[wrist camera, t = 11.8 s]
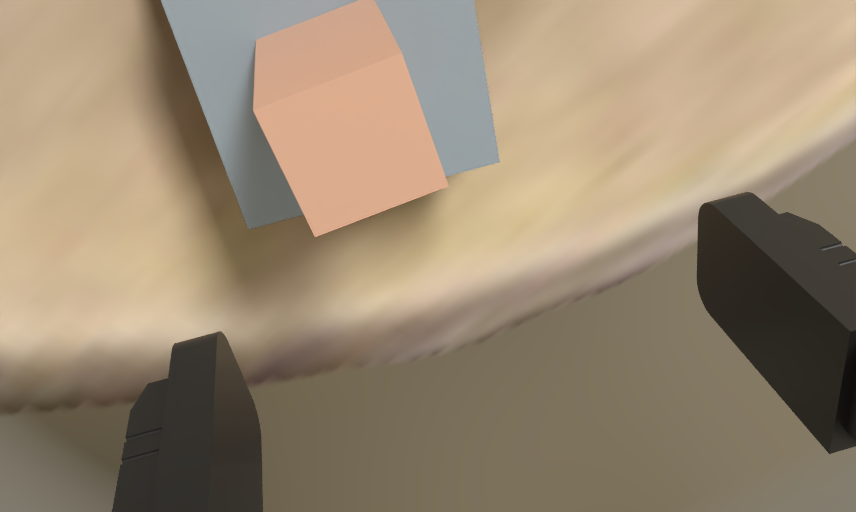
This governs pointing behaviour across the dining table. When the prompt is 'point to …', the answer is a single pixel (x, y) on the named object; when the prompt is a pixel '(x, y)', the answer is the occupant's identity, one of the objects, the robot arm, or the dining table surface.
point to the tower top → (294, 3)
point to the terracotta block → (344, 117)
